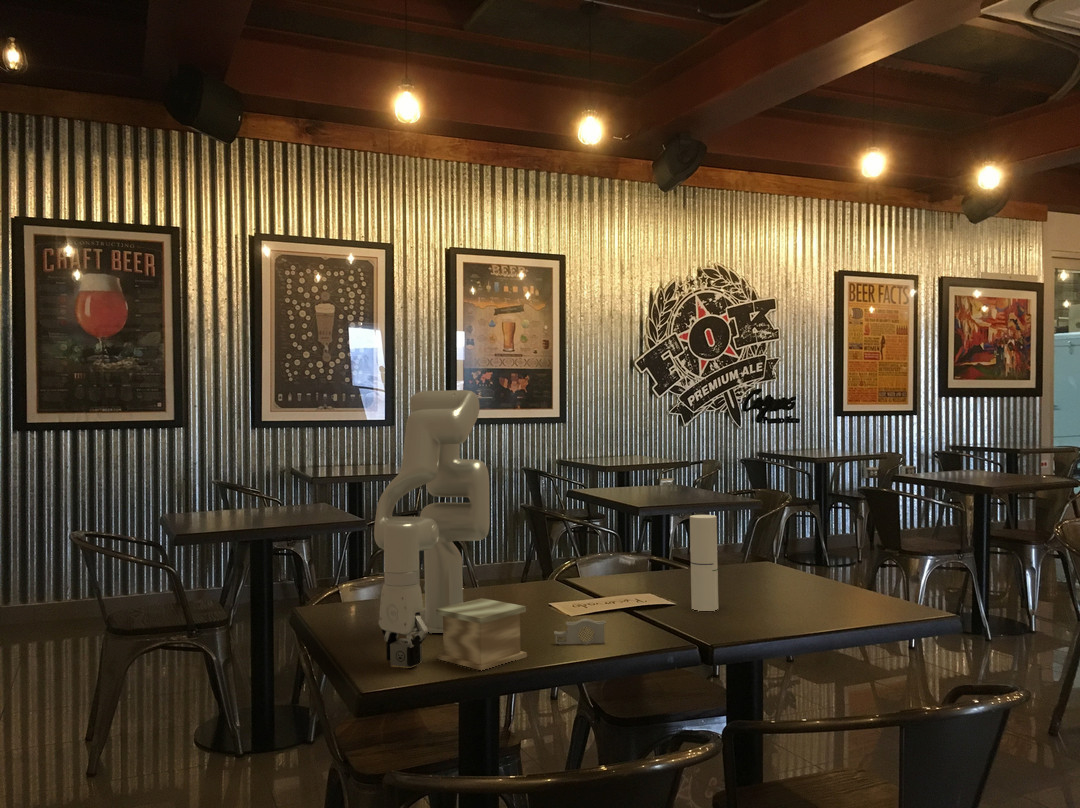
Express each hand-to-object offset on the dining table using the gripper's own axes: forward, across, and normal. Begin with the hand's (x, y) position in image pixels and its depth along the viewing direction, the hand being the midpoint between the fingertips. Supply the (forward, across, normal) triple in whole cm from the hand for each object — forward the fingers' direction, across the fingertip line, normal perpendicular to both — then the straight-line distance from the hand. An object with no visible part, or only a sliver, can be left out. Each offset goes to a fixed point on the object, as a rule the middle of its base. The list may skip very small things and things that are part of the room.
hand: (403, 661), depth 194 cm
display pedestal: (+1, +10, +14) cm, 17 cm away
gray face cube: (+1, 0, +1) cm, 1 cm away
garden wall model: (+1, +19, +37) cm, 42 cm away
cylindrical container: (+1, +23, +85) cm, 88 cm away
